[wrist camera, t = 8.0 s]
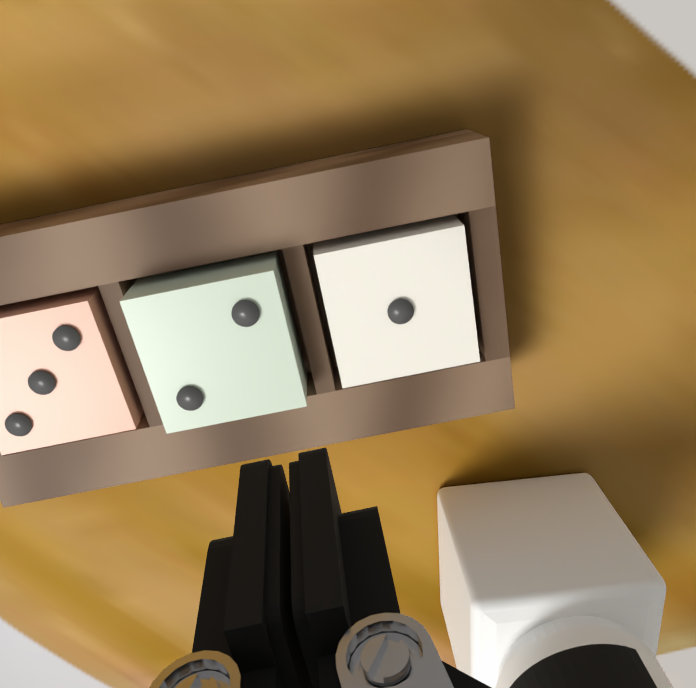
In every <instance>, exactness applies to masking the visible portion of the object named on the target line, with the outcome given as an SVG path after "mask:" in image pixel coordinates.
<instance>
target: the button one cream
mask: <svg viewBox="0 0 696 688" xmlns="http://www.w3.org/2000/svg"><path fill="white" fill-rule="evenodd" d="M313 253H314V260H315V264H316V269H317V273H318V278H319V283H320V287H321V292H322V296H323V301H324V306H325V310H326V315H327V319H328V324H329V328H330V333H331V338H332V342H333V347H334V351H335V356H336V361H337V365H338V370H339V374H340V379H341V383H342V388H347V387H352V386H358V385H363V384H368V383H373V382H378V381H383V380H388V379H393V378H398V377H404V376H409V375H414V374H419V373H424V372H429V371H434V370H439V369H444V368H450V367H455V366H460V365H465V364H470V363H475V362H480V356H479V348H478V339H477V330H476V322H475V313H474V305H473V296H472V288H471V279H470V270H469V262H468V253H467V245H466V236H465V228H464V224H463V223H462V222H461V221H460V220H459V219H458V218H457V217H456V216H455V215H454V214H453V215H448V216H443V217H438V218H433V219H428V220H423V221H418V222H413V223H408V224H403V225H398V226H393V227H388V228H383V229H378V230H373V231H368V232H363V233H358V234H353V235H348V236H343V237H338V238H333V239H328V240H323V241H318V242H313Z"/></svg>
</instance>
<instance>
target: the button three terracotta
mask: <svg viewBox="0 0 696 688" xmlns="http://www.w3.org/2000/svg"><path fill="white" fill-rule="evenodd" d="M143 413H144V410H143V407H142V404H141V402H140V399H139V396H138V394H137V391H136V388H135V385H134V383H133V380H132V377H131V375H130V372H129V369H128V366H127V364H126V361H125V358H124V355H123V353H122V350H121V347H120V345H119V342H118V339H117V336H116V334H115V331H114V328H113V326H112V323H111V320H110V317H109V315H108V312H107V309H106V307H105V304H104V301H103V298H102V296H101V293H100V290H99V287H98V286H95V287H90V288H85V289H80V290H75V291H70V292H65V293H60V294H55V295H50V296H45V297H40V298H35V299H30V300H25V301H20V302H15V303H10V304H5V305H0V453H1V455H6V454H11V453H16V452H21V451H26V450H31V449H37V448H42V447H47V446H52V445H57V444H62V443H67V442H72V441H77V440H83V439H88V438H93V437H98V436H103V435H108V434H113V433H118V432H123V431H129V430H134V429H136V428H137V426H138V424H139V422H140V420H141V418H142V415H143Z"/></svg>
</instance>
